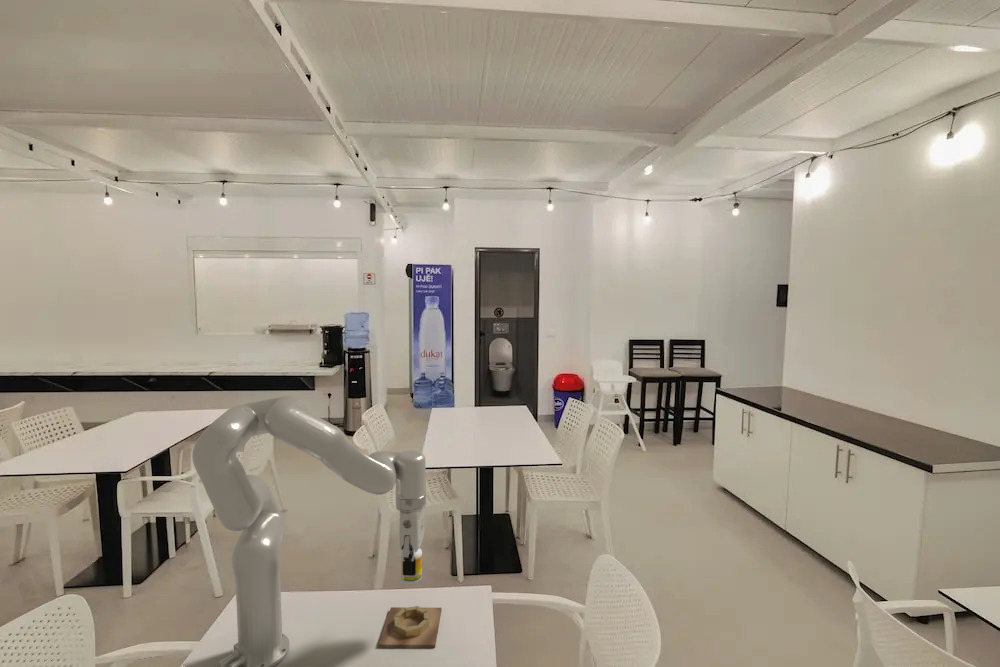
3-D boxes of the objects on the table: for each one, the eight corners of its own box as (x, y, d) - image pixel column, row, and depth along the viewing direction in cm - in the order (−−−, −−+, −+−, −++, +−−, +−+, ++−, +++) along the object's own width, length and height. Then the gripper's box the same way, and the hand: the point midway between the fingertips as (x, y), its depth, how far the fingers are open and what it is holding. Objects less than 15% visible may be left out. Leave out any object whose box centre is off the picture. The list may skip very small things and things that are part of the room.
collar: (413, 641, 120) (413, 634, 120) (387, 628, 124) (387, 621, 124) (435, 621, 127) (435, 614, 127) (410, 609, 132) (410, 602, 132)
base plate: (378, 647, 119) (378, 644, 119) (390, 610, 133) (390, 607, 133) (435, 647, 119) (435, 644, 119) (441, 610, 133) (441, 607, 133)
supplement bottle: (397, 577, 125) (397, 541, 124) (415, 569, 129) (415, 535, 128) (407, 587, 121) (407, 550, 120) (426, 579, 124) (425, 543, 124)
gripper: (419, 516, 114) (420, 588, 116) (430, 487, 131) (431, 550, 133) (388, 515, 114) (389, 588, 116) (403, 486, 131) (404, 549, 133)
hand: (411, 567), depth 125 cm, fingers closed on supplement bottle, 5 cm apart
